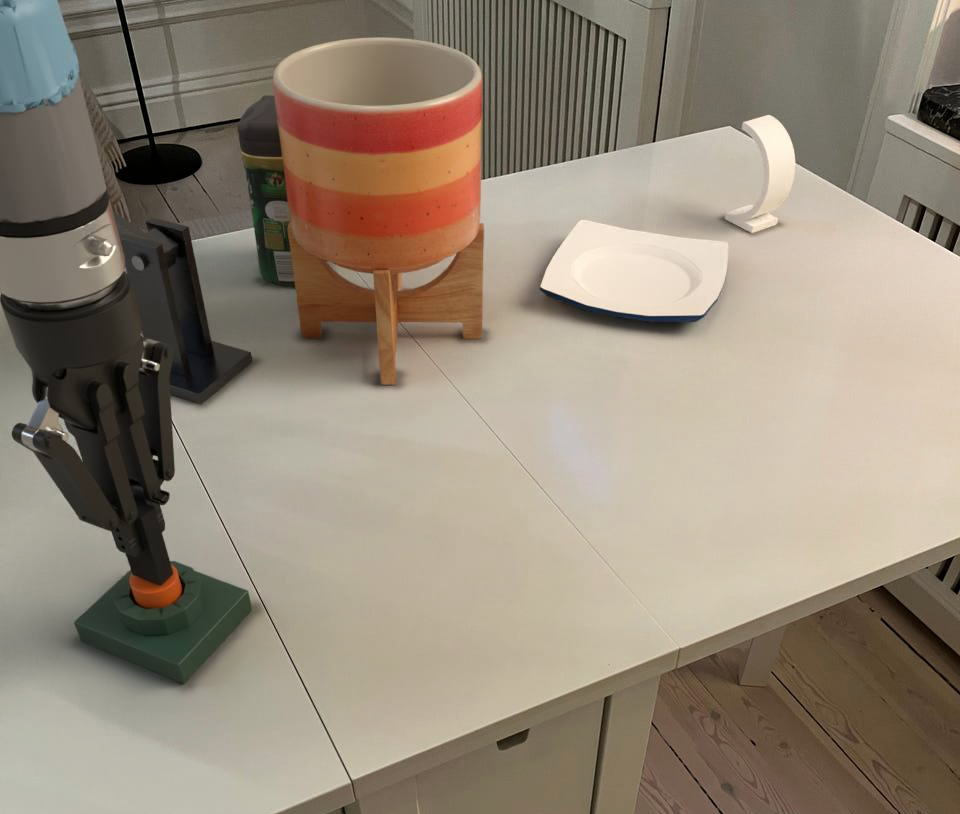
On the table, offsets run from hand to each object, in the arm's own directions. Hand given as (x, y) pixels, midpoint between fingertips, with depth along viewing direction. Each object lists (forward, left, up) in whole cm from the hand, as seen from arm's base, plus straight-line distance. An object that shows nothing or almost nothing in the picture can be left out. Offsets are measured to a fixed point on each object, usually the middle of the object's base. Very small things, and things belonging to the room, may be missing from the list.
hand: (153, 574), depth 77 cm
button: (0, 0, -2) cm, 2 cm away
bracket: (-22, +31, -6) cm, 38 cm away
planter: (-6, +47, -6) cm, 48 cm away
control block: (0, 0, -6) cm, 6 cm away
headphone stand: (+22, +93, -6) cm, 96 cm away
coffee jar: (-24, +55, -6) cm, 60 cm away
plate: (+14, +70, -6) cm, 72 cm away
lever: (-27, +31, +8) cm, 42 cm away
